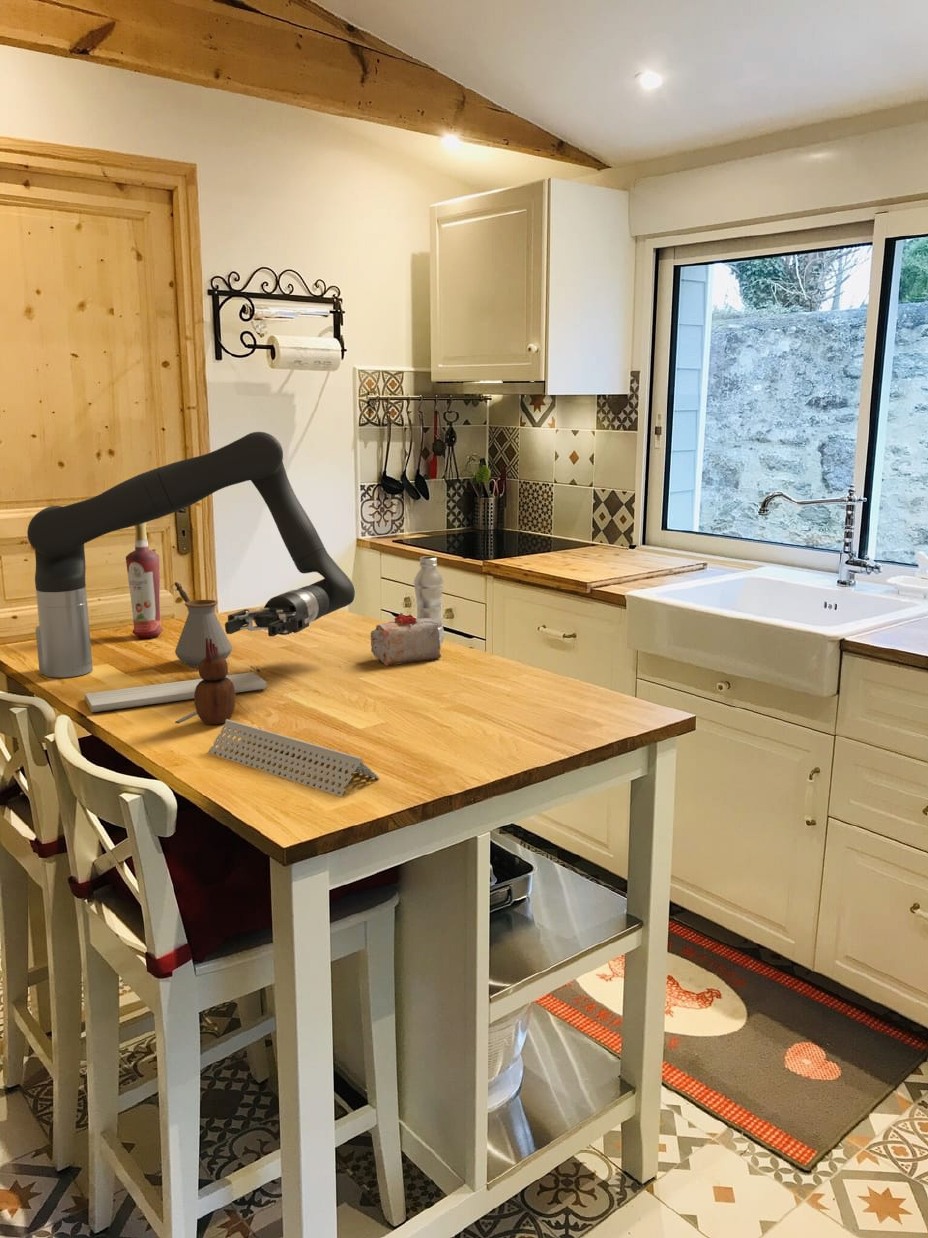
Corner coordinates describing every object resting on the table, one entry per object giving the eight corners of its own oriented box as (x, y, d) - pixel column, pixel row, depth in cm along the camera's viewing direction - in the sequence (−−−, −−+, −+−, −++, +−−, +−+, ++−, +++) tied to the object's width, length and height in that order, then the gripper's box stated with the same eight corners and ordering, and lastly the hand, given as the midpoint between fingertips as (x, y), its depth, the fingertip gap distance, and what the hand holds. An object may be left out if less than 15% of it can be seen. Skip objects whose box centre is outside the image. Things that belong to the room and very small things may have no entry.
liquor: (170, 633, 235) (162, 514, 229) (154, 641, 228) (145, 518, 222) (142, 632, 236) (133, 514, 230) (125, 639, 229) (116, 517, 223)
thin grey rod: (175, 722, 169) (175, 721, 169) (234, 692, 186) (234, 691, 186) (179, 722, 169) (179, 721, 169) (238, 692, 186) (238, 691, 186)
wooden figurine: (214, 730, 165) (208, 641, 162) (189, 724, 168) (183, 637, 165) (243, 719, 170) (238, 633, 167) (218, 713, 173) (214, 629, 170)
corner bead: (204, 757, 154) (202, 726, 153) (250, 742, 161) (248, 712, 160) (339, 801, 136) (337, 767, 135) (383, 782, 143) (382, 749, 142)
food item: (383, 668, 203) (382, 621, 201) (368, 660, 210) (367, 614, 208) (443, 660, 210) (443, 614, 208) (426, 652, 217) (426, 608, 214)
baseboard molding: (83, 698, 184) (92, 714, 173) (82, 682, 183) (91, 698, 172) (250, 676, 197) (267, 690, 187) (249, 662, 197) (266, 675, 186)
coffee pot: (241, 664, 207) (237, 593, 204) (186, 672, 200) (182, 599, 197) (204, 644, 224) (200, 578, 221) (153, 651, 218) (148, 584, 214)
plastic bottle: (450, 645, 222) (449, 556, 218) (432, 652, 216) (431, 560, 212) (426, 642, 225) (425, 554, 221) (408, 648, 220) (407, 558, 216)
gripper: (257, 590, 193) (211, 607, 178) (324, 593, 189) (283, 610, 174) (260, 628, 195) (215, 648, 180) (326, 631, 190) (285, 652, 175)
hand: (248, 629), depth 177 cm, fingers open, 8 cm apart
